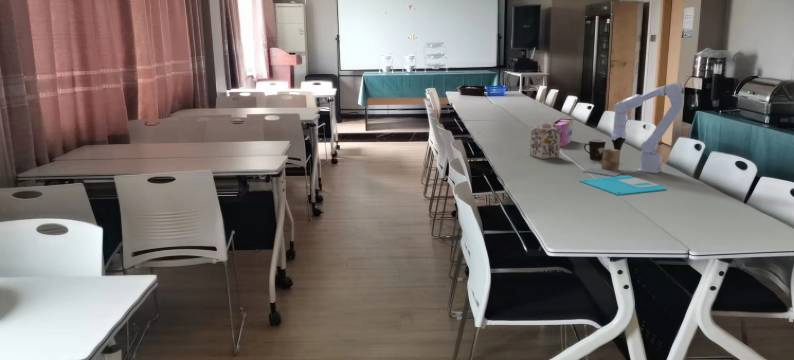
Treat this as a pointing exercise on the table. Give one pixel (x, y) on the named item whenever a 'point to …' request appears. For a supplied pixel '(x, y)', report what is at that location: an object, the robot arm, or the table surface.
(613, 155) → the cardboard box
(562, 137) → the gum box
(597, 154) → the coffee mug
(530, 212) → the table surface
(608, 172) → the slate mat
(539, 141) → the decorative jar
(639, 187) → the diskette
